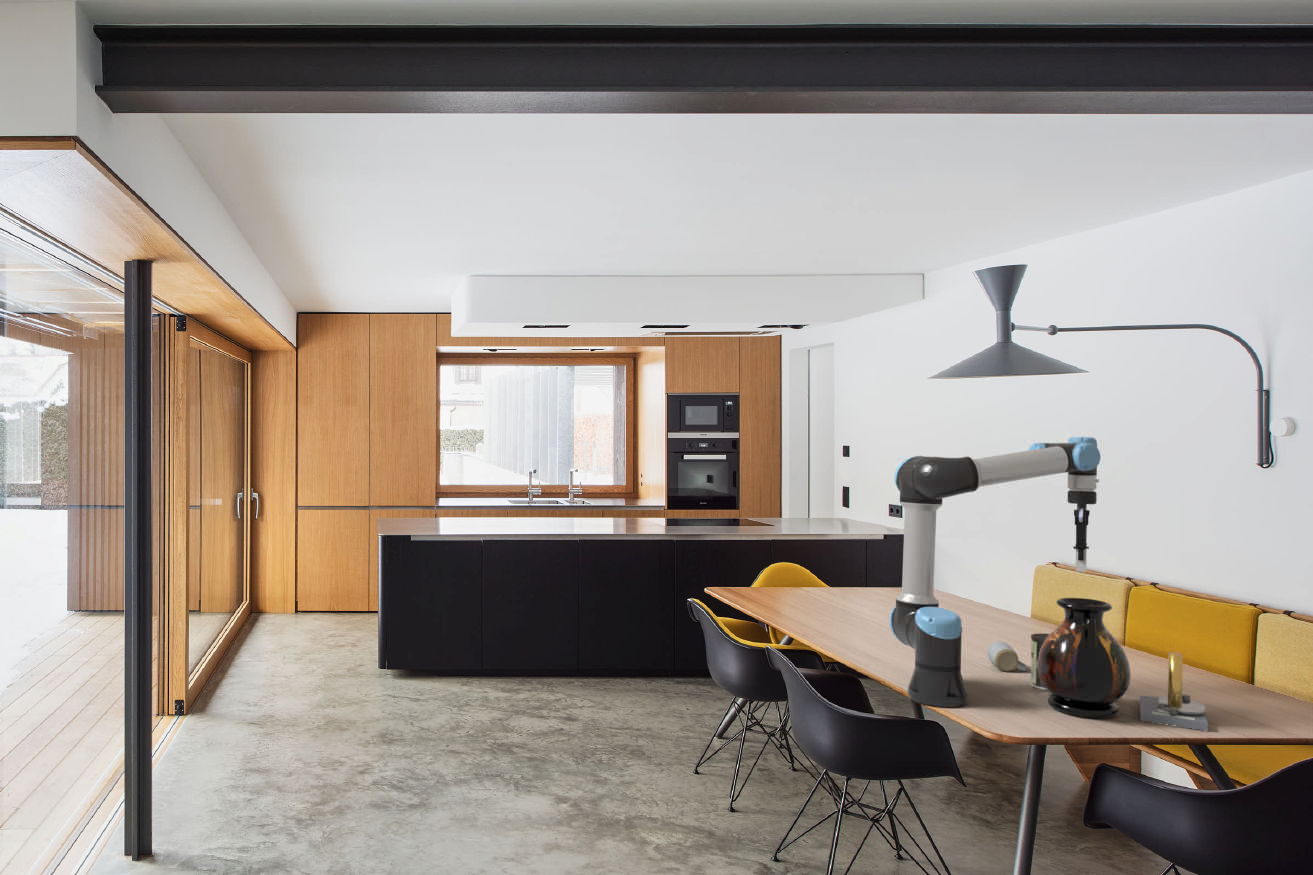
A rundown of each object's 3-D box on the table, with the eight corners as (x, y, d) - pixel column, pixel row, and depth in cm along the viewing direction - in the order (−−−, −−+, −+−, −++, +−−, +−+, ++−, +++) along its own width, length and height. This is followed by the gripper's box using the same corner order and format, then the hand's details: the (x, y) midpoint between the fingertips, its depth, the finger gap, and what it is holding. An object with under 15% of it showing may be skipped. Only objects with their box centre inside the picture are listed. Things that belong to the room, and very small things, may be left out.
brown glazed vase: (1141, 727, 201) (1142, 612, 201) (1044, 717, 207) (1046, 605, 207) (1117, 702, 222) (1118, 597, 222) (1030, 693, 228) (1031, 592, 228)
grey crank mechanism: (1207, 731, 199) (1207, 715, 199) (1140, 720, 206) (1140, 705, 206) (1201, 711, 215) (1202, 697, 215) (1139, 702, 222) (1139, 688, 222)
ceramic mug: (994, 671, 250) (995, 646, 250) (986, 664, 258) (987, 640, 258) (1031, 674, 249) (1032, 648, 249) (1022, 667, 257) (1023, 642, 257)
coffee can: (1078, 690, 232) (1079, 640, 232) (1047, 693, 229) (1048, 641, 229) (1051, 680, 242) (1052, 632, 242) (1022, 682, 239) (1022, 633, 239)
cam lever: (1210, 709, 209) (1211, 651, 209) (1197, 718, 201) (1198, 658, 202) (1165, 700, 216) (1166, 644, 216) (1151, 708, 209) (1152, 650, 209)
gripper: (1095, 491, 233) (1094, 575, 233) (1097, 490, 244) (1096, 569, 244) (1066, 490, 237) (1065, 572, 236) (1069, 488, 248) (1067, 567, 248)
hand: (1080, 571), depth 240 cm, fingers closed
